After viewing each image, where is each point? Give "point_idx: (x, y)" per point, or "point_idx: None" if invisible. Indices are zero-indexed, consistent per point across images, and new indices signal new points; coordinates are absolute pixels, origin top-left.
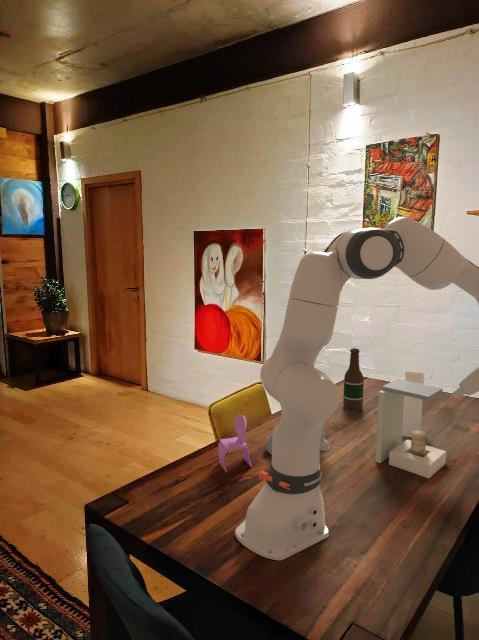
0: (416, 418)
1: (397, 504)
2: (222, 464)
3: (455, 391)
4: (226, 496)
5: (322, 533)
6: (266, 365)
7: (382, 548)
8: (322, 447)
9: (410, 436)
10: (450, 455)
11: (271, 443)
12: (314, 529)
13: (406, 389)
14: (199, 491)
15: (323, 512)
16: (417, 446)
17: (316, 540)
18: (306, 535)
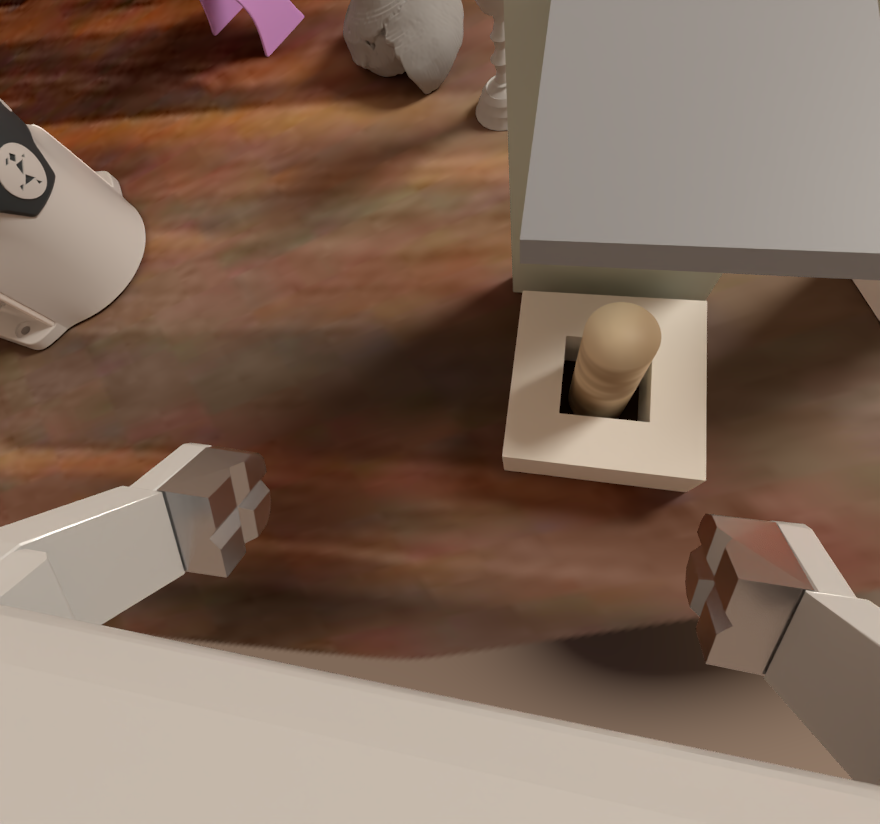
0: None
1: (266, 435)
2: (218, 7)
3: (154, 475)
4: (113, 102)
5: (26, 335)
6: None
7: (41, 474)
8: (481, 110)
9: (861, 289)
10: (798, 491)
11: (348, 6)
12: (24, 314)
13: (605, 54)
14: (109, 54)
15: (7, 303)
16: (578, 367)
17: (3, 337)
18: (2, 311)
